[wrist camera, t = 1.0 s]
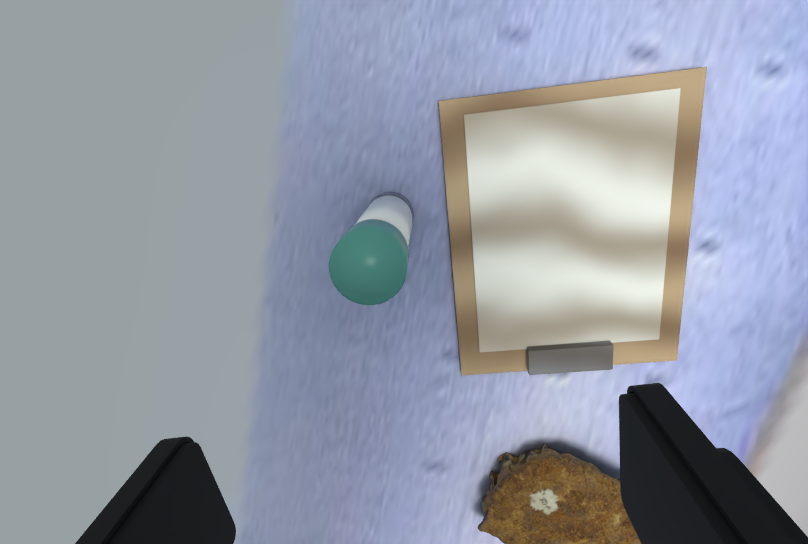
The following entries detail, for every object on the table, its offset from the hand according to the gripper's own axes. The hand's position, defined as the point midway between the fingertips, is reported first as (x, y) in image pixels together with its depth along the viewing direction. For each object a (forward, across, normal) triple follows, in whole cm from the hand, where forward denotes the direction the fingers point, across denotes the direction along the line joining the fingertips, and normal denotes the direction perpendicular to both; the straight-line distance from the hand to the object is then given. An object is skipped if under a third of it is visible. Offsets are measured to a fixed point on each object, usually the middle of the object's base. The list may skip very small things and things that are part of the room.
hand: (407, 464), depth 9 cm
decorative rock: (+22, -8, +27) cm, 35 cm away
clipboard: (+22, -10, +3) cm, 24 cm away
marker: (+22, +2, -1) cm, 22 cm away
